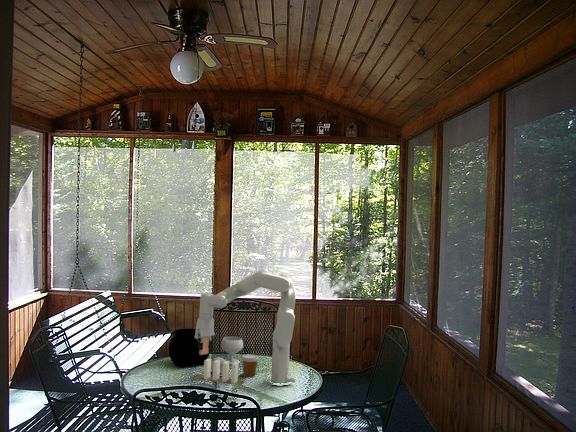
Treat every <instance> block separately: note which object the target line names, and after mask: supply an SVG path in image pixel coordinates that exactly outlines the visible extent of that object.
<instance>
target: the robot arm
mask: <svg viewBox="0 0 576 432" xmlns="http://www.w3.org/2000/svg"><path fill="white" fill-rule="evenodd" d="M260 288H262V289H266V290H270V291H273V292H279V293H280V300H279V306H278V310H277V314H276V326H275V328H274V330H273V332H272V355H271V356H272V357H271V372H270V373H271V374H270V375H271V377H270V378H269V379H268V380H267V381H269V382H270V381H271V382H273V383H280V384H281V383H287V382H291V383H293V384H294V383H296V380H297V379H296V378H295V377H291V376H290V374H289V371H290V369H289V367H290V351H291V349H290V347H291V346H290V345H291V342H292V338H293V333H294V327H295V319H296V317H295V314H294V313H295V305H296V301H297V300H296V299H297V291H296V287H295V284H294V282H293V281H292V280H291V279H290V278H289V277H288V276H286V275H283V274H279V275H277V274H273V273H269V272H267V271H266V270H263V269H262V270H258V271H256V272H254V273H253V274H251V275H249V276H247V277H245V278H244V279H241V280H240V281H237V282H236V283H235V284H233V285H231V286H229V287H226V288H225V289H224V290H222V291H219V292H218V293H217V294H214V293H211V292H203V293H201V294H200V300H199V313H198V314H199V315H198V316H199V317H198V318H197V321H196V326H195V329H196V333H195V336H194V338H195V339H196V340H197V342H198V349H199V350H203V343H202V341H203V338H204V337H207V336H209V348H210V349H211V342H212V340H213V338H214V336H215V335H216V333H215V326H214V325H215V321H214V315H215V314H214V308H217V309H223V308H225V307H226V306H227V304H228V303H231V302H232V301H234V300H235V299H238V298H240V297H245V296H247V295H249V294H251V293H253V292H255V291H257V290H258V289H260ZM198 336H199V337H198ZM200 338H201V339H200ZM270 379H271V380H270ZM269 382H268V383H269Z"/></svg>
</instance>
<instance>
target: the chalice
mask: <svg viewBox="0 0 576 432" xmlns="http://www.w3.org/2000/svg"><path fill="white" fill-rule="evenodd" d="M220 348H221V349H222V351H223V352H226V353H227V354H228V355H229V358H225V359H224V360H225V361H229V365H232V364H234V363H235V362H239V364H240V361H241V360H240V361H239V359H236V358H234V355H235V354H237V353H238V352H240V351H242V350H243V348H244V342H243V338H241V337H239V336H225V337H223V338H222V340H221V343H220Z"/></svg>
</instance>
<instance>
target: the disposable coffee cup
mask: <svg viewBox="0 0 576 432" xmlns="http://www.w3.org/2000/svg"><path fill="white" fill-rule="evenodd" d="M241 360H242V369H243V371H242V372H243V376H244V377H245V378H254V377H256V373H257V367H258V361H259V357H258V355H256V354H250V353H248V354H244V355H242V357H241Z"/></svg>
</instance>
